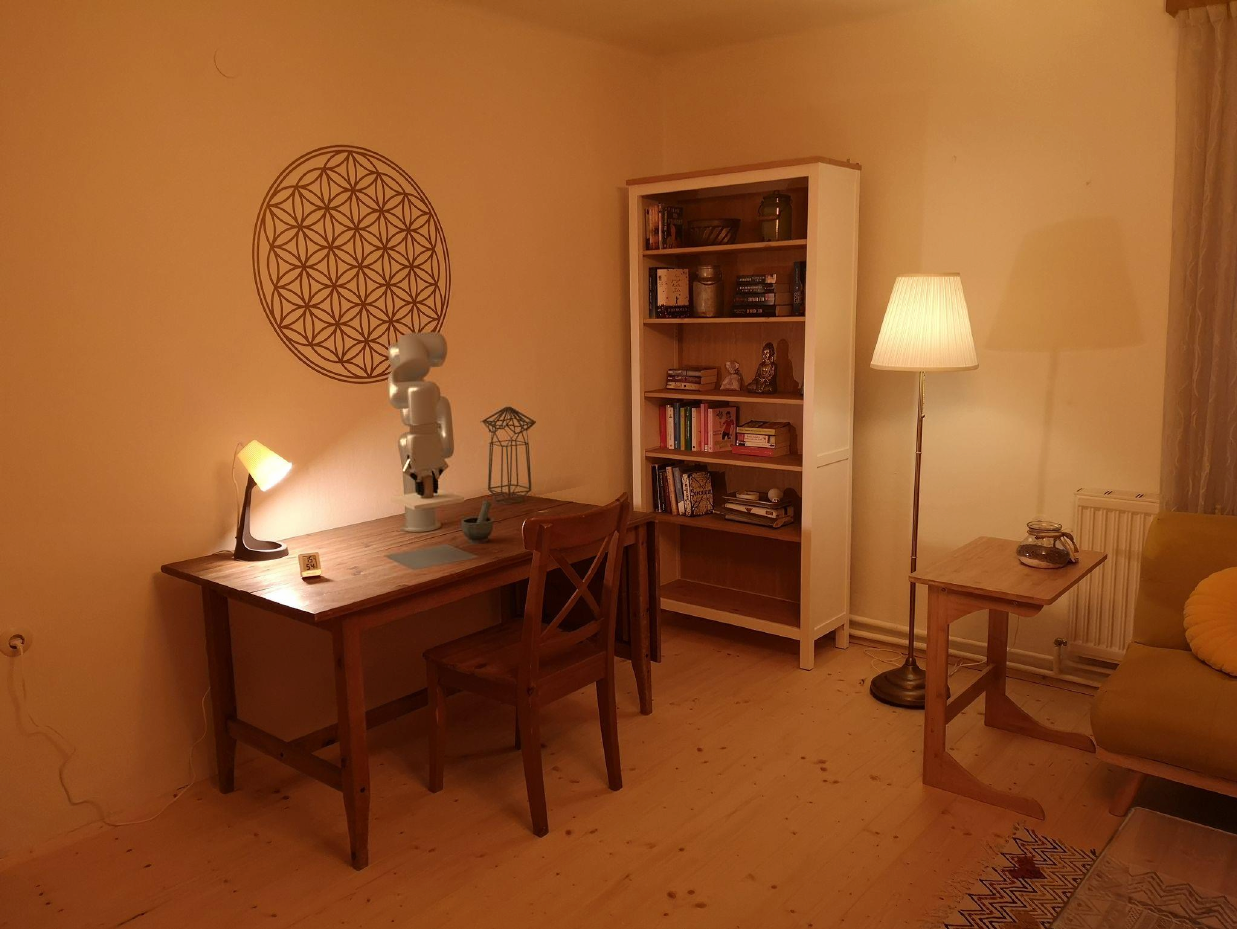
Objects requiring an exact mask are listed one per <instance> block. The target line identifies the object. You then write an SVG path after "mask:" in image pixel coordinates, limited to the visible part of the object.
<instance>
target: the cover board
mask: <svg viewBox="0 0 1237 929" xmlns="http://www.w3.org/2000/svg"><path fill="white" fill-rule="evenodd" d="M421 481H422V482H423V489H424V495H423V496H420V495H417V493H412V494H406V495H404V494H400V495H394V496H391V497H390V498H391V501H392V502H394V503H396V504H399V505H402V506H404V507H405V506H406V507H409V508H411V509H414V510H417V509H423V508H429V507H435V508H436V507H440V506H441V507H442V506H447V505H453V504H458V503H464V502H465V497H463V496H461V495H459V494H458V495H457V494H455V493H452V492H449V491H446V490H442V489H439V488H438V493H437V494H435V493H434V488H433V475H422V476H421Z"/></svg>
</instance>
